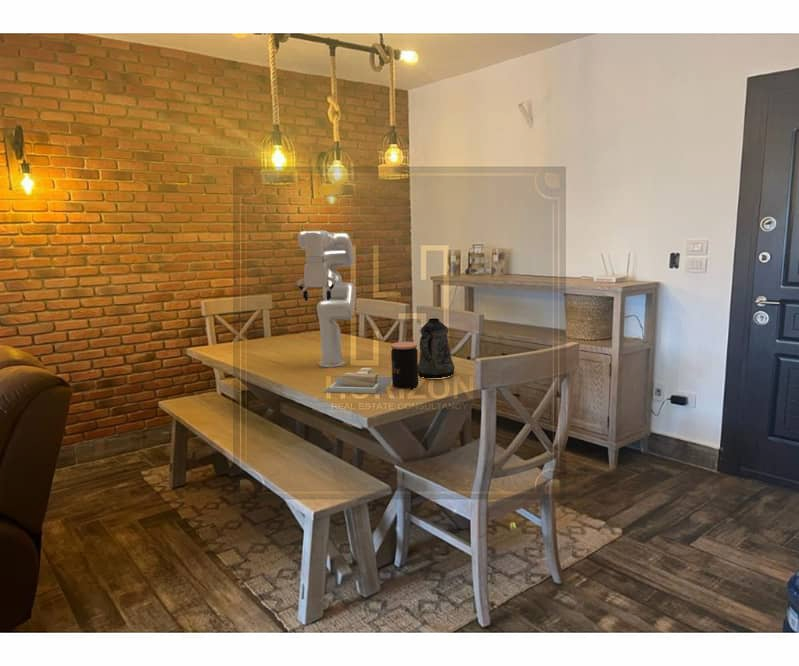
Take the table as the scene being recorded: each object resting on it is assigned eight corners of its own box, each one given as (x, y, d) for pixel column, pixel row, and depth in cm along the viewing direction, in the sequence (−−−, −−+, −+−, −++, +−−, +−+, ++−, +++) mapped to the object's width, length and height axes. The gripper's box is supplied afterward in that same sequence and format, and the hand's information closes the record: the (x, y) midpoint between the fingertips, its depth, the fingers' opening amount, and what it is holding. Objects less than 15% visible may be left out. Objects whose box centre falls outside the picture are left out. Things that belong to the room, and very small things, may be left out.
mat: (341, 377, 257) (341, 371, 256) (394, 378, 252) (394, 372, 251) (322, 394, 232) (322, 387, 231) (381, 396, 227) (380, 389, 226)
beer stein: (453, 369, 264) (452, 315, 260) (456, 381, 245) (455, 322, 241) (417, 370, 265) (415, 316, 260) (417, 382, 246) (415, 323, 241)
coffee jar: (391, 384, 244) (390, 342, 240) (417, 382, 244) (415, 341, 241) (393, 391, 233) (391, 347, 230) (419, 390, 234) (418, 346, 231)
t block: (351, 376, 254) (351, 367, 254) (382, 377, 251) (382, 368, 251) (342, 385, 241) (342, 375, 241) (375, 385, 238) (375, 376, 238)
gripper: (336, 259, 252) (338, 298, 255) (297, 260, 253) (299, 299, 256) (333, 260, 244) (335, 300, 247) (293, 261, 245) (295, 301, 248)
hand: (317, 300), depth 252 cm, fingers open, 9 cm apart
